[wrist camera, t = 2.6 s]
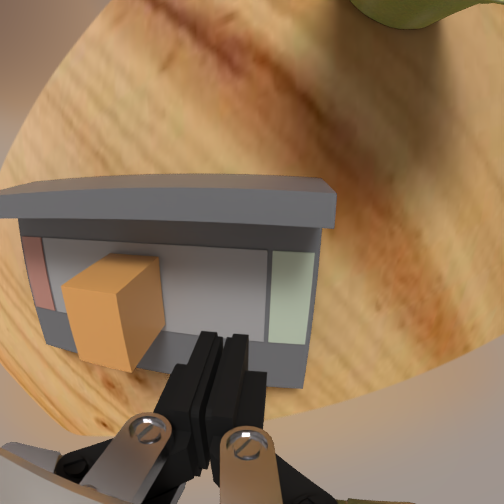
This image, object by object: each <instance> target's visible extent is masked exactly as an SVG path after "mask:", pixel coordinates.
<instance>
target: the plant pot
mask: <svg viewBox="0 0 504 504" xmlns="http://www.w3.org/2000/svg"><path fill="white" fill-rule="evenodd" d="M350 1H351V2H352V3H353V4H354V6H355V7H357V8H358V9H359V10H360V11H361V12H362V13H364V14H365V15H367V16H368V17H370V18H371V19H373V20H375V21H377V22H379V23H381V24H384V25H386V26H389V27H393V28H397V29H418V28H424V27H426V26H428V25H431V24H433V23H435V22H437V21H439V20H441V19H443V18H445V17H447V16H449V15H451V14H454V13H456V12H458V11H461V10H463V9H466V8H468V7H471V6H473V5H476V4H479V3H480V4H489V3H497V4H502V5H504V0H350Z"/></svg>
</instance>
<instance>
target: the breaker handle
mask: <svg viewBox="0 0 504 504" xmlns="http://www.w3.org/2000/svg"><path fill="white" fill-rule="evenodd" d="M61 289H62V294H63V299H64V303H65V307H66V311H67V315H68V319H69V323H70V327H71V331H72V334H73V338H74V341H75V345H76V348H77V351H78V355H79V358H80V360H82V361H86V362H90V363H93V364H97V365H101V366H105V367H109V368H113V369H117V370H121V371H126V372H130V373H132V372H133V371H134V369H135V368H136V366H137V365H138V363H139V362H140V360H141V359H142V357H143V356H144V354H145V353H146V351H147V350H148V349H149V347H150V346H151V344H152V343H153V341H154V340H155V338H156V337H157V336H158V334H159V333H160V331H161V330H162V328H163V327H164V325H165V317H164V308H163V299H162V289H161V279H160V267H159V257H155V256H142V255H128V254H114V253H109V254H108V255H106V256H105V257H103V258H102V259H100V260H99V261H97V262H96V263H94V264H92V265H91V266H89V267H88V268H86V269H85V270H83V271H82V272H80V273H79V274H77V275H76V276H74V277H73V278H71V279H70V280H68V281H67V282H66V283H64V284H63V285H61Z"/></svg>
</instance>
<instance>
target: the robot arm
mask: <svg viewBox="0 0 504 504" xmlns="http://www.w3.org/2000/svg"><path fill="white" fill-rule="evenodd" d="M248 357H249V335H247V334H233V335H232V337H227V338H226V341H225V345H224V348H223V337H221V336H218V334H217V332H210V331H201V333H200V335H199V337H198V340H197V342H196V344H195V347H194V349H193V352H192V354H191V356H190V359H189V361H188V363H187V364H179V363H177V364H176V365H175V367H174V369H173V371H172V373H171V375H170V377H169V379H168V381H167V384H166V386H165V388H164V390H163V392H162V394H161V396H160V399H159V401H158V403H157V405H156V407H155V409H154V412H153V413H151V412H148V413H140V414H137V415H135V416H133V417H131V418H130V419H129V420H128V421H127V422H126V423H125V424H124V426H123V427H122V428H121V430H120V431H119V432H118V434H117V435H116V436H115V437H114V438H112V439H109V440H107V441H104V442H101V443H98V444H95V445H92V446H89V447H86V448H82V449H79V450H76V451H73V452H70V453H67V454H65V455H61V454H60V452H57V451H52V450H47V449H42V448H38V447H33V446H29V445H25V444H21V443H17V442H10V443H6V444H5V445H3V446H2V447H1V448H0V504H177V502H178V500H179V498H180V496H181V494H182V492H183V490H184V488H185V485H186V482H187V481H189V480H191V479H193V478H194V476H200V475H201V471H202V469H208V466H209V462H211V469H212V474H213V480H214V482H215V483H216V484H217V485H218V487H219V488H220V504H415V503H410V502H388V501H371V500H359V499H350V498H348V500H347V501H344V500H336V499H334V498H333V497H332V496H331V495H330V494H328V493H327V492H326V491H324V490H323V489H321V488H320V487H319V486H317V485H316V484H314V483H313V482H311V481H310V480H309V479H308V478H306V477H305V476H304V475H302V474H301V473H300V472H298V471H297V470H296V469H294V468H293V467H292V466H291V465H289V464H288V463H287V462H285V461H284V460H283V459H282V458H281V457H279V456H278V455H277V454H276V453H275V448H274V443H273V440H272V438H271V436H269V434H268V433H267V432H265V431H264V430H263V422H264V411H265V398H266V384H267V372H261V371H248Z"/></svg>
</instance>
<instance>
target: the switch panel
mask: <svg viewBox="0 0 504 504" xmlns="http://www.w3.org/2000/svg"><path fill="white" fill-rule="evenodd" d="M336 200H337V193H336V192H335V191H334V190H333V189H332V188H331V187H330V186H329V185H328V184H327V183H326V182H325V181H324V180H323V179H322V178H313V177H297V176H277V175H250V174H145V175H119V176H100V177H84V178H71V179H59V180H47V181H37V182H31V183H27V184H23V185H18V186H14V187H10V188H7V189H3V190H0V218H18V222H19V229H20V236H21V242H22V248H23V254H24V259H25V264H26V269H27V274H28V279H29V283H30V287H31V292H32V296H33V300H34V303H35V307H36V311H37V314H38V318H39V321H40V325H41V328H42V331H43V335H44V338H45V341H46V344H48V345H51V346H54V347H58V348H61V349H65V350H68V351H71V352H75V353H78V351H77V348H76V345H75V341H74V338H73V334H72V331H71V327H70V323H69V319H68V315H67V311H66V307H65V303H64V299H63V294H62V289H61V285H63V284H64V283H66V282H67V281H68V280H70V279H71V278H73V277H74V276H76V275H77V274H79V273H80V272H82V271H83V270H85V269H86V268H88V267H89V266H91V265H92V264H94V263H96V262H97V261H99V260H100V259H102V258H103V257H105V256H106V255H108V254H109V253H114V254H128V255H142V256H155V257H159V267H160V279H161V289H162V299H163V308H164V317H165V325H164V327H163V328H162V330H161V331H160V333H159V334H158V336H157V337H156V338H155V340H154V341H153V343H152V344H151V346H150V347H149V349H148V350H147V351H146V353H145V354H144V356H143V357H142V359H141V360H140V362H139V363H138V365H137V366H136V367H137V368H142V369H146V370H152V371H157V372H162V373H168V374H171V373H172V371H173V369H174V367H175V365H176V364H177V363H179V364H187V363H188V361H189V359H190V356H191V354H192V352H193V349H194V347H195V344H196V342H197V340H198V337H199V335H200V333H201V331H210V332H217V334H218V336H221V337H223V348H224V345H225V341H226V338H227V337H232V335H233V334H247V335H249V357H248V371H261V372H267V384H266V386H269V387H283V388H300V389H303V384H304V377H305V371H306V364H307V357H308V350H309V343H310V336H311V328H312V320H313V312H314V304H315V295H316V286H317V276H318V267H319V256H320V245H321V233H322V228H331V229H334V225H335V213H336Z"/></svg>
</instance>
